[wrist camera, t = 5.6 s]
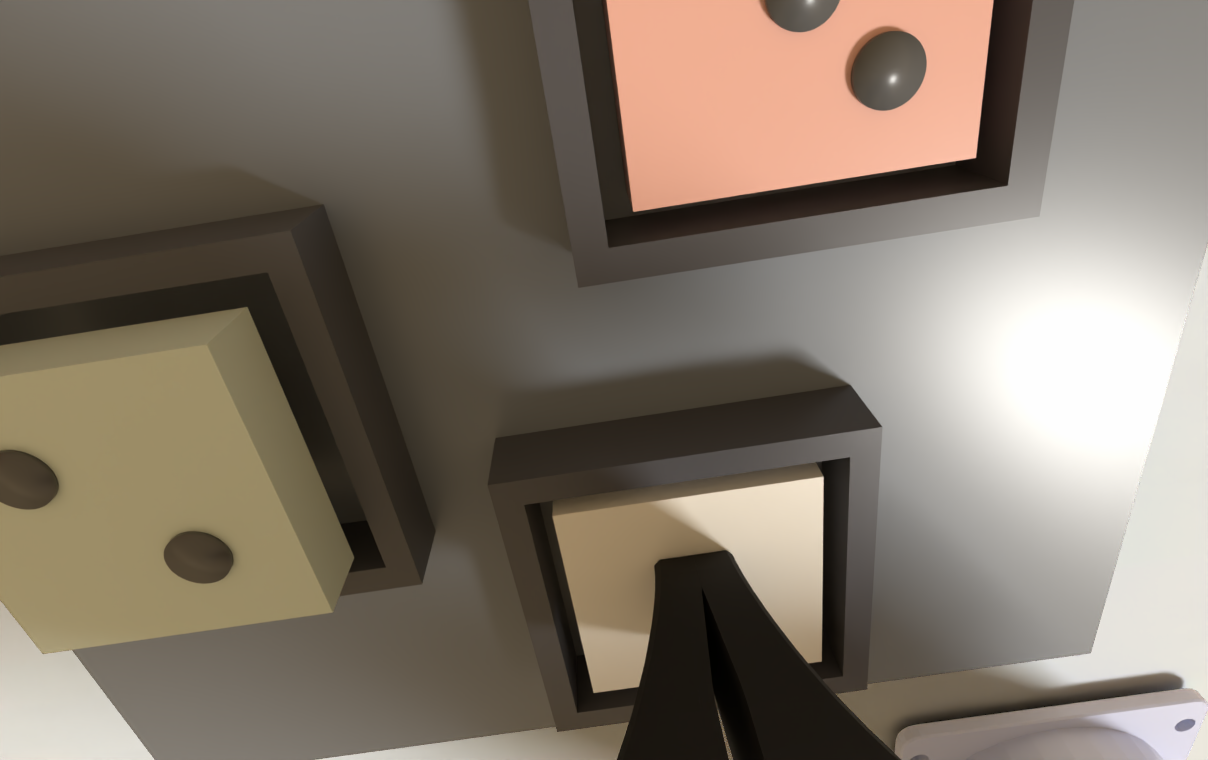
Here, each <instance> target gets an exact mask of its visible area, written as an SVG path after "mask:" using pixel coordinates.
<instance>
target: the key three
mask: <svg viewBox="0 0 1208 760" xmlns="http://www.w3.org/2000/svg"><path fill="white" fill-rule="evenodd" d="M602 5H603V13H604V21H605V28H606V36H607V44H608V52H609V59H610V67H611V75H612V83H613V90H614V98H615V106H616V114H617V121H618V129H619V137H620V145H621V152H622V160H623V168H624V176H625V183H626V191H627V194H628V197H629V200H630V204H631V207H632V210H633V212H636V211H643V210H649V209H655V208H662V207H668V206H674V205H681V204H687V203H693V202H700V201H706V200H712V199H719V198H725V197H731V196H738V195H744V194H750V193H757V192H763V191H769V190H776V189H782V188H788V187H795V186H801V185H807V184H814V183H820V182H827V181H833V180H839V179H846V178H852V177H858V176H865V175H871V174H877V173H884V172H890V171H896V170H903V169H909V168H915V167H922V166H928V165H934V164H941V163H947V162H953V161H960V160H966V159H972V158H976V153H977V144H978V135H979V126H980V117H981V108H982V99H983V90H984V81H985V72H986V63H987V54H988V45H989V36H990V27H991V18H992V9H993V0H602Z"/></svg>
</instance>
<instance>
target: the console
mask: <svg viewBox="0 0 1208 760" xmlns="http://www.w3.org/2000/svg"><path fill="white" fill-rule="evenodd" d="M1207 244H1208V0H993V9H992V18H991V27H990V36H989V45H988V54H987V63H986V72H985V81H984V90H983V99H982V108H981V117H980V126H979V135H978V144H977V153H976V158H972V159H966V160H960V161H953V162H947V163H941V164H934V165H928V166H922V167H915V168H909V169H903V170H896V171H890V172H884V173H877V174H871V175H865V176H858V177H852V178H846V179H839V180H833V181H827V182H820V183H814V184H807V185H801V186H795V187H788V188H782V189H776V190H769V191H763V192H757V193H750V194H744V195H738V196H731V197H725V198H719V199H712V200H706V201H700V202H693V203H687V204H681V205H674V206H668V207H662V208H655V209H649V210H643V211H636V212H633V210H632V207H631V204H630V200H629V197H628V194H627V191H626V183H625V176H624V168H623V160H622V152H621V145H620V137H619V129H618V121H617V114H616V106H615V98H614V90H613V83H612V75H611V67H610V59H609V52H608V44H607V36H606V28H605V21H604V13H603V5H602V0H0V346H1V345H7V344H13V343H20V342H26V341H33V340H39V339H45V338H52V337H58V336H65V335H71V334H77V333H84V332H90V331H97V330H103V329H109V328H116V327H122V326H129V325H135V324H141V323H148V322H154V321H161V320H167V319H173V318H180V317H186V316H193V315H199V314H205V313H212V312H218V311H225V310H231V309H237V308H244V307H248V310H249V312H250V314H251V317H252V319H253V321H254V324H255V326H256V328H257V331H258V333H259V335H260V338H261V340H262V342H263V345H264V347H265V350H266V352H267V354H268V357H269V359H270V361H271V364H272V366H273V368H274V371H275V373H276V375H277V378H278V380H279V382H280V385H281V387H282V389H283V392H284V394H285V396H286V399H287V401H288V403H289V406H290V408H291V410H292V413H293V415H294V417H295V420H296V422H297V424H298V427H299V429H300V432H301V434H302V436H303V439H304V441H305V443H306V446H307V448H308V450H309V453H310V455H311V457H312V460H313V462H314V464H315V467H316V469H317V471H318V474H319V476H320V478H321V481H322V483H323V485H324V488H325V490H326V492H327V495H328V497H329V499H330V502H331V504H332V506H333V509H334V511H335V513H336V516H337V518H338V521H339V523H340V525H341V528H342V530H343V532H344V535H345V537H346V539H347V542H348V544H349V546H350V549H351V551H352V553H353V556H354V560H353V562H352V565H351V567H350V570H349V572H348V575H347V578H346V580H345V583H344V585H343V588H342V590H341V593H340V596H339V598H338V601H337V603H336V606H335V608H334V611H333V613H326V614H319V615H312V616H305V617H298V618H291V619H284V620H277V621H270V622H263V623H256V624H249V625H242V626H235V627H228V628H221V629H214V630H207V631H200V632H193V633H186V634H179V635H172V636H165V637H158V638H151V639H144V640H138V641H131V642H124V643H117V644H110V645H103V646H96V647H89V648H82V649H75V650H72V651H73V652H74V653H75V655H76V656H77V657H78V659H79V660H80V661H81V663H82V664H83V665H84V667H85V668H86V669H87V670H88V672H89V673H90V674H91V676H92V677H93V678H94V680H95V681H96V682H97V684H98V685H99V686H100V688H101V689H102V690H103V692H104V693H105V694H106V696H107V697H108V698H109V700H110V701H111V702H112V704H113V705H114V706H115V708H116V709H117V710H118V712H119V713H120V714H121V715H122V717H123V718H124V719H125V721H126V722H127V723H128V725H129V726H130V727H131V729H132V730H133V731H134V733H135V734H136V735H137V737H138V738H139V739H140V741H141V742H142V743H143V745H144V746H145V747H146V749H147V750H148V751H149V753H150V754H151V755H152V757H153V758H154V759H155V760H316V759H323V758H330V757H337V756H345V755H352V754H359V753H367V752H374V751H381V750H389V749H396V748H403V747H410V746H418V745H425V744H432V743H440V742H447V741H454V740H461V739H469V738H476V737H483V736H491V735H498V734H505V733H512V732H520V731H527V730H534V729H542V728H549V727H556V729H557V732H559V731H566V730H574V729H581V728H588V727H596V726H603V725H610V724H617V723H625V722H629V721H630V718H631V714H632V711H633V707H634V704H635V700H636V696H637V692H638V688H639V687H634V688H627V689H619V690H612V691H605V692H598V693H593V688H592V684H591V680H590V675H589V671H588V667H587V663H586V658H585V654H584V650H583V645H582V641H581V637H580V633H579V628H578V624H577V620H576V615H575V611H574V607H573V603H572V598H571V594H570V590H569V585H568V581H567V577H566V572H565V568H564V564H563V560H562V555H561V551H560V547H559V542H558V538H557V534H556V530H555V525H554V521H553V517H552V512H553V501H554V500H561V499H568V498H575V497H582V496H589V495H595V494H602V493H609V492H616V491H623V490H630V489H636V488H643V487H650V486H657V485H664V484H671V483H677V482H684V481H691V480H698V479H705V478H711V477H718V476H725V475H732V474H739V473H746V472H752V471H759V470H766V469H773V468H780V467H787V466H793V465H800V464H807V463H814V462H816V464H817V466H818V467H819V469H820V471H821V473H822V475H823V476H824V487H823V585H822V662H814V663H808V664H809V665H810V666H811V667H812V668H813V669H814V671H815V672H816V673H817V674H818V675H819V676H820V678H821V679H822V680H823V681H824V682H825V683H826V684H827V686H828V687H829V688H830V689H831V690H832V691H833V692H834V693H835V694H837V693H844V692H851V691H858V690H866V689H867V684H870V683H877V682H884V681H892V680H899V679H906V678H913V677H921V676H928V675H935V674H943V673H950V672H957V671H965V670H972V669H979V668H986V667H994V666H1001V665H1008V664H1016V663H1023V662H1030V661H1037V660H1045V659H1052V658H1059V657H1067V656H1074V655H1081V654H1088V653H1091V651H1092V647H1093V644H1094V640H1095V637H1096V633H1097V630H1098V626H1099V623H1100V619H1101V615H1102V612H1103V608H1104V605H1105V601H1106V598H1107V594H1108V591H1109V587H1110V584H1111V580H1112V577H1113V573H1114V570H1115V566H1116V563H1117V559H1118V556H1119V552H1120V549H1121V545H1122V542H1123V538H1124V535H1125V531H1126V528H1127V524H1128V521H1129V517H1130V514H1131V510H1132V507H1133V503H1134V500H1135V496H1136V493H1137V489H1138V486H1139V482H1140V479H1141V475H1142V472H1143V468H1144V465H1145V461H1146V458H1147V454H1148V451H1149V447H1150V444H1151V440H1152V437H1153V433H1154V430H1155V426H1156V423H1157V419H1158V416H1159V412H1160V409H1161V405H1162V402H1163V398H1164V395H1165V391H1166V388H1167V384H1168V381H1169V377H1170V374H1171V370H1172V367H1173V363H1174V360H1175V356H1176V353H1177V349H1178V346H1179V342H1180V339H1181V335H1182V332H1183V328H1184V325H1185V321H1186V318H1187V314H1188V311H1189V307H1190V304H1191V300H1192V297H1193V293H1194V290H1195V286H1196V283H1197V279H1198V276H1199V272H1200V269H1201V265H1202V262H1203V258H1204V255H1205V251H1206V248H1207ZM715 703H716V699H715ZM716 708H717V710H718V706H717V703H716Z"/></svg>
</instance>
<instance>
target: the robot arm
mask: <svg viewBox="0 0 1208 760" xmlns="http://www.w3.org/2000/svg"><path fill="white" fill-rule="evenodd" d="M654 570H655V598H654V609H653V617H652V625H651V630H650V636H649V642H648V647H647V653H646V658H645V663H644V668H643V672H642V676H641V680H640V684H639V688H638V692H637V696H636V700H635V704H634V707H633V711H632V714H631V718H630V721H629V725H628V728H627V731H626V734H625V737H624V740H623V743H622V746H621V749H620V752H619V755H618V758H617V760H729V759H728V755H727V751H726V746H725V742H724V738H723V734H722V729H721V725H720V721H719V717H718V712H717V708H716V703H717V706H718V710H719V713H720V716H721V720H722V723H723V726H724V730H725V733H726V737H727V740H728V743H729V747H730V750H731V753H732V757H733V760H1187V757H1188V755H1189V753H1190V750H1191V748H1192V746H1193V744H1194V741H1195V739H1196V737H1197V734H1198V732H1199V730H1200V727H1201V725H1202V723H1203V720H1204V718H1205V716H1206V713H1207V711H1208V703H1207V702H1206V700H1205V699H1204V698H1203V697H1202V696H1201V695H1200V694H1199V693H1198V692H1197V691H1196V690H1193V689H1189V688H1182V689H1175V690H1167V691H1160V692H1153V693H1145V694H1138V695H1130V696H1123V697H1116V698H1108V699H1101V700H1093V701H1086V702H1079V703H1071V704H1064V705H1056V706H1049V707H1042V708H1034V709H1027V710H1019V711H1012V712H1005V713H997V714H990V715H982V716H975V717H968V718H960V719H953V720H946V721H938V722H931V723H923V724H916V725H912V726H908V727H906V728H904V729H902V730H901V731H900V732H899V733H898V735H897V738H896V743H895V753H894V752H892V751H891V750H890V749H889V748H888V747H887V746H886V745H885V744H884V743H883V742H882V741H881V740H880V739H879V738H878V737H877V736H876V735H875V734H874V733H873V732H872V731H871V730H869V729H868V728H867V726H866V725H865V724H864V723H863V722H862V721H861V720H860V719H859V718H858V717H857V716H856V715H855V714H854V713H853V712H852V711H851V710H850V709H849V708H848V707H847V706H846V705H845V704H844V703H843V702H842V701H841V700H840V699H839V698H838V697H837V695H836V694H835V693H834V692H833V691H832V690H831V689H830V688H829V687H828V686H827V684H826V683H825V682H824V681H823V680H822V679H821V678H820V676H819V675H818V674H817V673H816V672H815V671H814V669H813V668H812V667H811V666H810V665H809V664H808V662H807V661H806V660H805V659H804V658H803V656H802V655H801V654H800V653H799V652H798V650H797V649H796V648H795V647H794V645H793V644H792V643H791V641H790V640H789V639H788V638H787V636H786V635H785V634H784V632H783V631H782V630H781V628H780V627H779V626H778V625H777V623H776V622H775V621H774V619H773V618H772V617H771V615H770V614H769V612H768V611H767V610H766V608H765V607H764V605H763V604H762V602H761V601H760V599H759V598H758V596H757V595H756V594H755V592H754V591H753V589H752V587H751V586H750V584H749V583H748V581H747V580H746V578H745V576H744V575H743V573H742V571H741V569H740V568H739V566H738V564H737V562H736V560H735V558H734V556H733V554H731V553H730V552H728V551H727V550H724V551H717V552H710V553H703V554H696V555H689V556H682V557H675V558H668V559H661V560H659V561H658V562H657V563H656V564H655V565H654ZM715 699H716V703H715Z"/></svg>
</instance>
